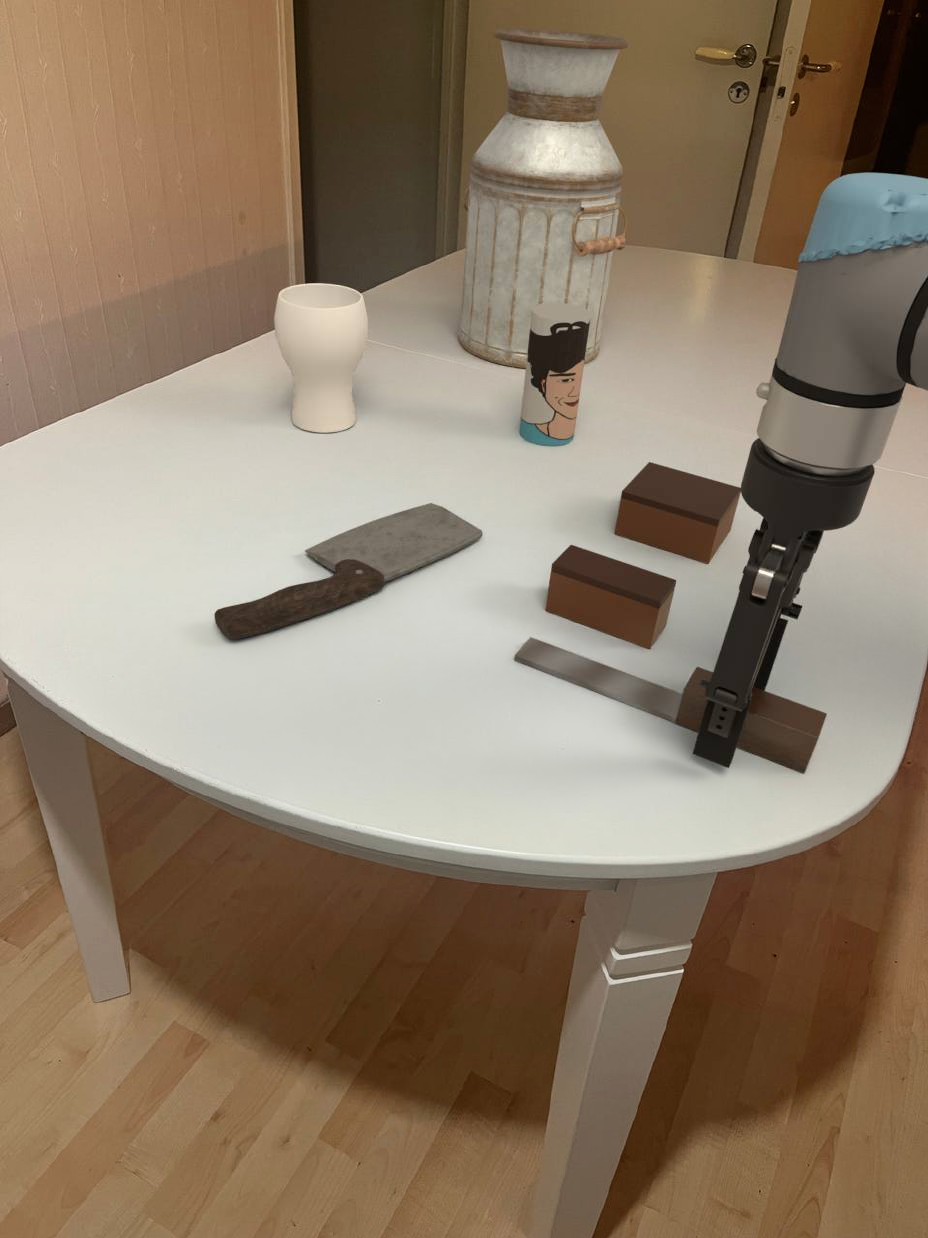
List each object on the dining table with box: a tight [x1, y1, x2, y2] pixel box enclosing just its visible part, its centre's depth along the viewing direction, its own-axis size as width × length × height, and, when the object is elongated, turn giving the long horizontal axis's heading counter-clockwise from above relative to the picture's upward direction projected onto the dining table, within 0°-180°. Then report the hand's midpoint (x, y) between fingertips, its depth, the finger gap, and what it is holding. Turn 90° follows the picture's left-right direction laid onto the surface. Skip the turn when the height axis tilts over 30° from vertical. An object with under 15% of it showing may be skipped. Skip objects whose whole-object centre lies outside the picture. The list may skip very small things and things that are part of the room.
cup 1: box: [273, 282, 369, 434], centre depth 108 cm, size 11×11×15 cm
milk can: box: [457, 28, 629, 369], centre depth 128 cm, size 24×21×40 cm
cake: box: [613, 461, 741, 565], centre depth 94 cm, size 10×8×5 cm
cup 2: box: [518, 303, 591, 447], centre depth 109 cm, size 7×7×15 cm
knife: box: [513, 636, 828, 774], centre depth 72 cm, size 24×3×4 cm, turn 61°
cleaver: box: [214, 502, 484, 640], centre depth 85 cm, size 29×10×2 cm, turn 137°
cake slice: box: [545, 544, 677, 650], centre depth 81 cm, size 10×4×5 cm, turn 60°
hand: (731, 718), depth 71 cm, fingers open, 9 cm apart
